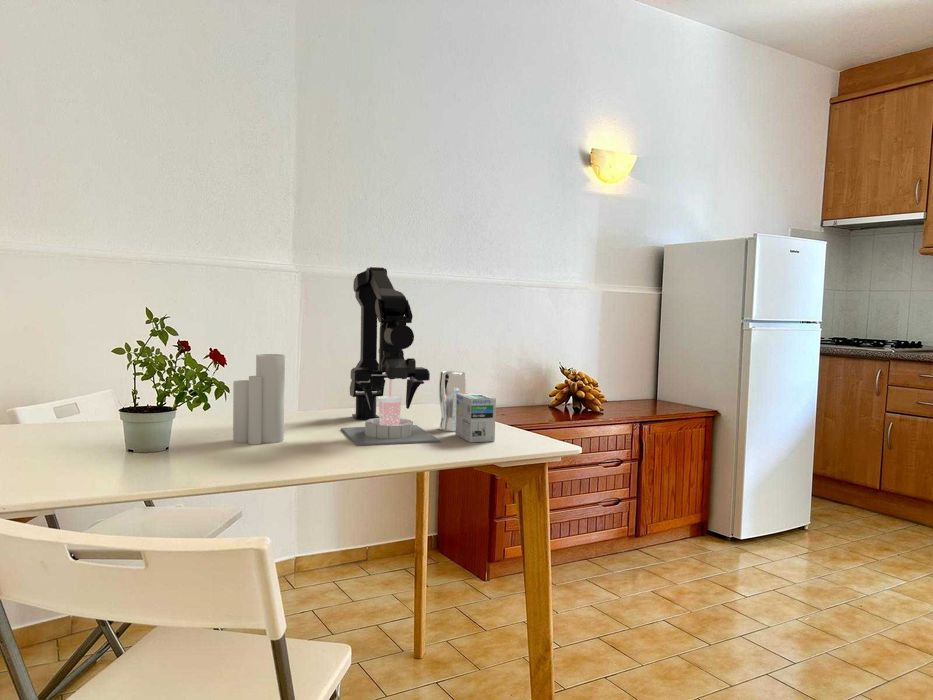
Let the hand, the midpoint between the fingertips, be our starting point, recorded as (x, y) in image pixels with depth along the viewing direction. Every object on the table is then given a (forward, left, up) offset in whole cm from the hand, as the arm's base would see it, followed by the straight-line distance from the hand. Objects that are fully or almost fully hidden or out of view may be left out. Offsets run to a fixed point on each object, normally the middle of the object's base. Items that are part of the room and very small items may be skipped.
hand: (389, 409), depth 181 cm
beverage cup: (0, 0, -6) cm, 6 cm away
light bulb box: (+7, +20, -7) cm, 22 cm away
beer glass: (-5, +18, -7) cm, 20 cm away
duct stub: (0, 0, -7) cm, 7 cm away
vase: (0, -31, -7) cm, 32 cm away
